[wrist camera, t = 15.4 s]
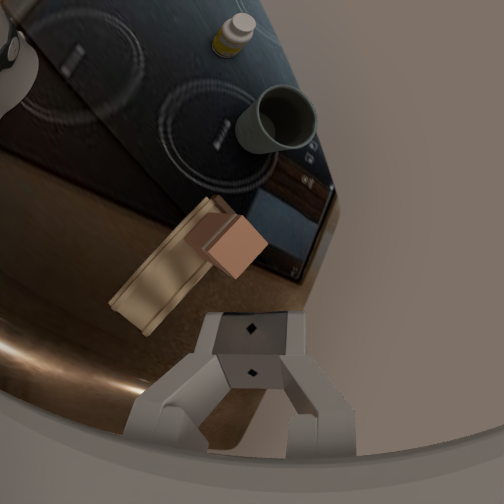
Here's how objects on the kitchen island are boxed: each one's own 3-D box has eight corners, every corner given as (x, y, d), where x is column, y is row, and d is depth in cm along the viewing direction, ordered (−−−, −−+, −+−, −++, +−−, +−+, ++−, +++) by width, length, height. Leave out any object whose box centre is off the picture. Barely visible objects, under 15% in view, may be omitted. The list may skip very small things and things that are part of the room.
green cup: (282, 158, 56) (320, 149, 45) (230, 158, 52) (259, 147, 41) (278, 107, 54) (314, 88, 43) (227, 103, 50) (255, 80, 39)
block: (204, 259, 52) (235, 279, 38) (183, 238, 50) (207, 251, 36) (229, 233, 53) (268, 243, 39) (208, 211, 51) (242, 214, 37)
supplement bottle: (224, 30, 47) (244, 5, 38) (244, 49, 49) (266, 25, 40) (204, 44, 46) (221, 18, 38) (225, 63, 49) (245, 40, 40)
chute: (148, 334, 50) (150, 343, 47) (108, 302, 47) (107, 308, 44) (244, 229, 55) (252, 231, 52) (209, 192, 51) (216, 191, 48)
